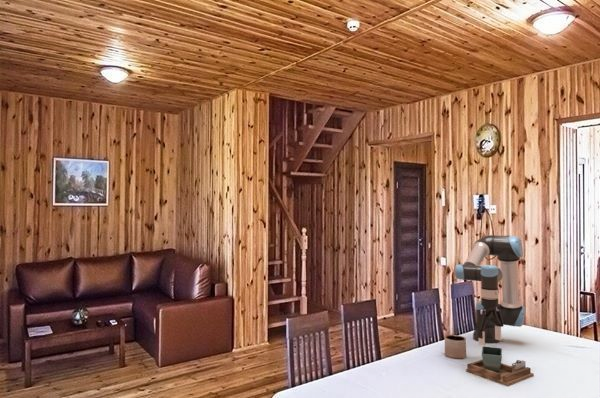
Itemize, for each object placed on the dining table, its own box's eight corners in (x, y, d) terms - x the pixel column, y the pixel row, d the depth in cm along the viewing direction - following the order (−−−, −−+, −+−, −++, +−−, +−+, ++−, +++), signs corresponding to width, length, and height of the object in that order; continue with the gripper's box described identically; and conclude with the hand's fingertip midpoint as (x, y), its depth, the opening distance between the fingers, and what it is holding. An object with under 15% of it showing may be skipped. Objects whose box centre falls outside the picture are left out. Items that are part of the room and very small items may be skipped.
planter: (444, 357, 231) (444, 339, 231) (445, 351, 241) (445, 334, 241) (466, 360, 227) (465, 341, 227) (466, 354, 237) (466, 336, 237)
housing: (465, 371, 211) (465, 364, 211) (492, 363, 223) (492, 355, 223) (507, 386, 193) (507, 377, 193) (533, 376, 206) (533, 368, 206)
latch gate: (511, 374, 203) (511, 362, 203) (522, 370, 208) (521, 358, 208) (515, 376, 202) (515, 363, 202) (526, 372, 207) (526, 359, 207)
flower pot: (502, 365, 212) (502, 347, 211) (502, 374, 204) (501, 356, 203) (483, 363, 216) (482, 345, 215) (482, 371, 208) (481, 353, 207)
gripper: (481, 302, 200) (481, 349, 199) (511, 296, 214) (511, 339, 214) (466, 299, 206) (467, 345, 206) (497, 293, 220) (497, 335, 220)
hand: (489, 342), depth 210 cm, fingers open, 13 cm apart
